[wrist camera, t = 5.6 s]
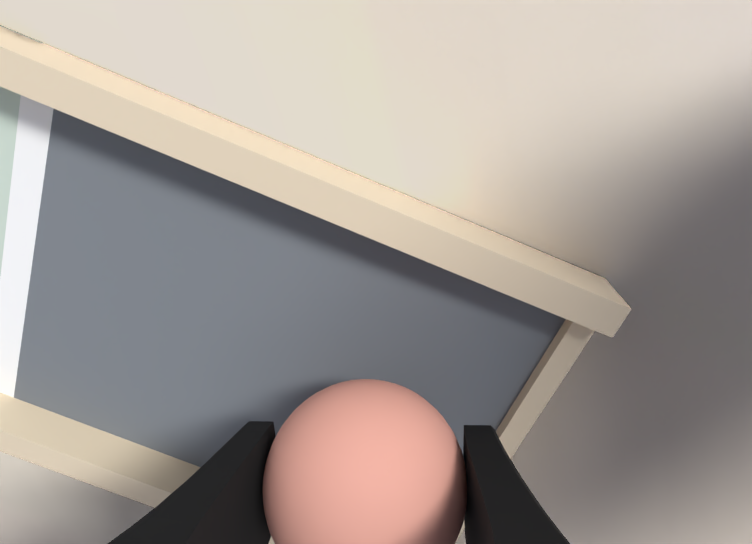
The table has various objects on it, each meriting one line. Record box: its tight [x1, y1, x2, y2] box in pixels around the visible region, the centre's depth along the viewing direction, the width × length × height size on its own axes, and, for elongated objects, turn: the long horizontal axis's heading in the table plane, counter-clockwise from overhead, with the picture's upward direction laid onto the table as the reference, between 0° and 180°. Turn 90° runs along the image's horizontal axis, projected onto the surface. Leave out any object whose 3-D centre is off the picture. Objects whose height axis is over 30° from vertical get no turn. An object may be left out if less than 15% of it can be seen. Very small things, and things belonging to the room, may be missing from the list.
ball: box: [263, 379, 467, 544], centre depth 11 cm, size 4×4×4 cm
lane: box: [0, 25, 632, 544], centre depth 13 cm, size 24×11×4 cm, turn 68°
